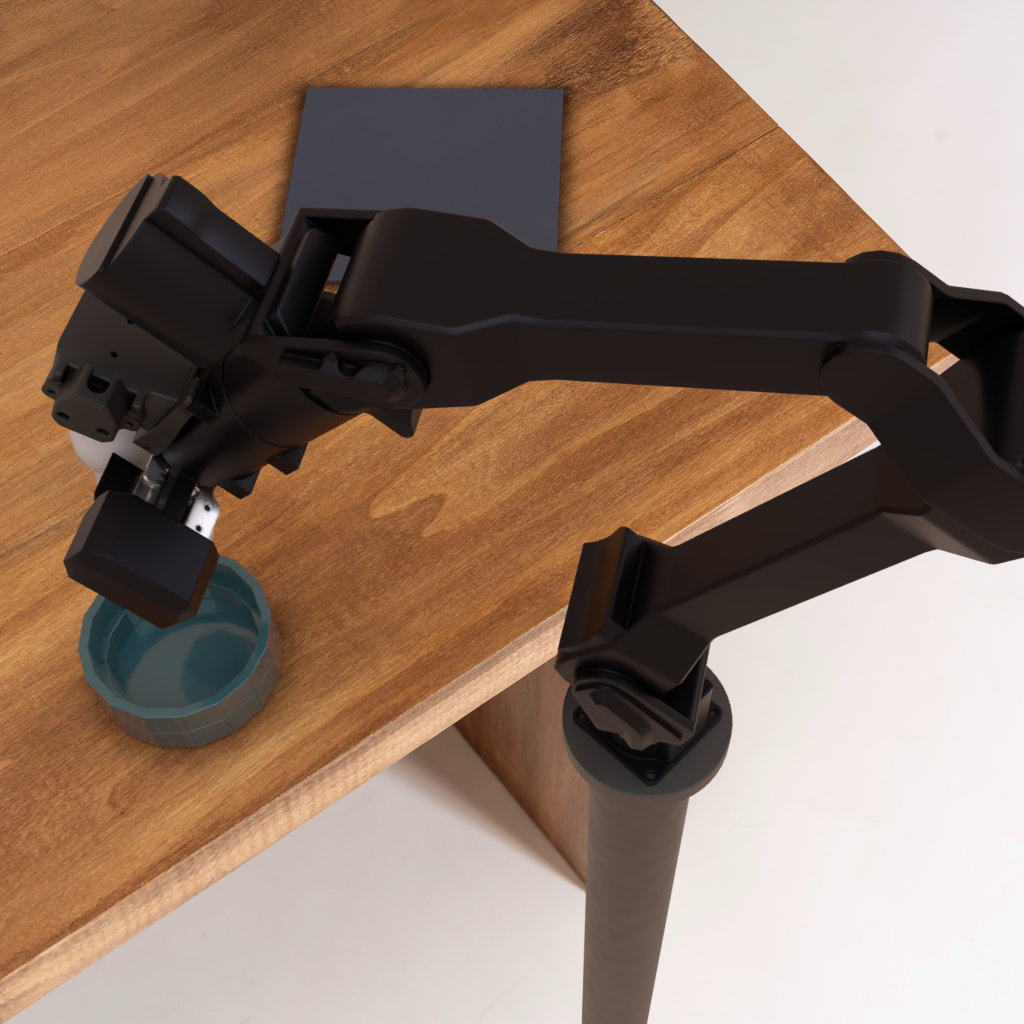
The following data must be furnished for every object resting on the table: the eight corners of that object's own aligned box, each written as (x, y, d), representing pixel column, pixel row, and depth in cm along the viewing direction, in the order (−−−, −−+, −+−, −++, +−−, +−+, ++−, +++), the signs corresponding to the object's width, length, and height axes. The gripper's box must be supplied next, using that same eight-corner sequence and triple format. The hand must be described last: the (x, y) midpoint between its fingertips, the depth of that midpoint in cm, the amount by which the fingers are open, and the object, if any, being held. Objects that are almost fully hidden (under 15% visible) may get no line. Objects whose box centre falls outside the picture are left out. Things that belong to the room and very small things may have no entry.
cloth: (563, 92, 111) (563, 88, 111) (555, 287, 100) (555, 283, 100) (307, 91, 112) (307, 87, 112) (272, 283, 102) (271, 279, 101)
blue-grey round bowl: (320, 663, 85) (308, 627, 81) (176, 787, 81) (157, 755, 77) (206, 556, 89) (190, 517, 86) (64, 668, 85) (41, 633, 82)
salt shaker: (243, 547, 81) (191, 409, 70) (169, 617, 79) (103, 485, 68) (174, 494, 84) (112, 352, 73) (99, 560, 81) (24, 423, 70)
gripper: (201, 134, 66) (54, 266, 77) (39, 459, 56) (-103, 557, 67) (385, 276, 71) (223, 380, 82) (266, 595, 62) (100, 665, 73)
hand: (117, 484), depth 76 cm, fingers closed on salt shaker, 3 cm apart
